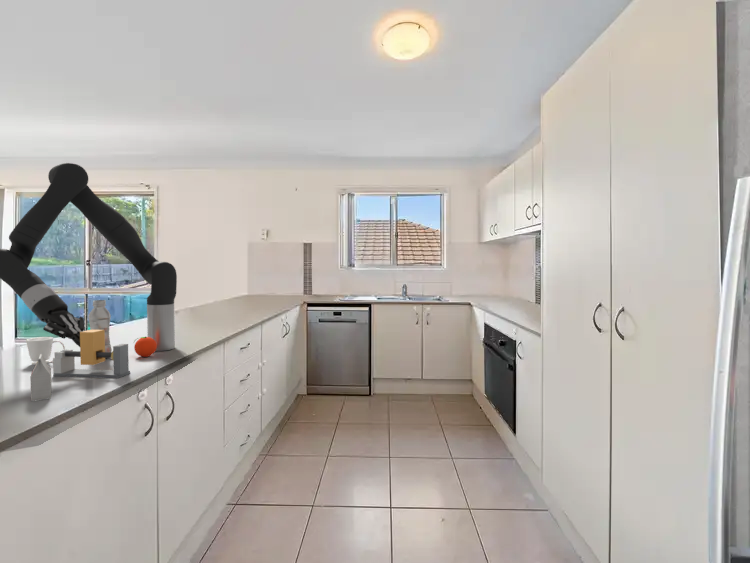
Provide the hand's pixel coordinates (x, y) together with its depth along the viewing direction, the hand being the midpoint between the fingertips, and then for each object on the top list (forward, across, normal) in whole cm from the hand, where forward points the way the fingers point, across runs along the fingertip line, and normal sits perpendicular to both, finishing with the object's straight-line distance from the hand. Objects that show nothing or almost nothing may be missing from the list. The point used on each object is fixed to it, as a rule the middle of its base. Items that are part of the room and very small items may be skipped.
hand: (84, 344), depth 122 cm
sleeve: (+6, 0, +2) cm, 6 cm away
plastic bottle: (0, +18, +13) cm, 23 cm away
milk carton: (+10, -19, +3) cm, 22 cm away
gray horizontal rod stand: (+8, 0, +5) cm, 9 cm away
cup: (-10, +11, +23) cm, 27 cm away
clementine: (+8, +24, +4) cm, 25 cm away
